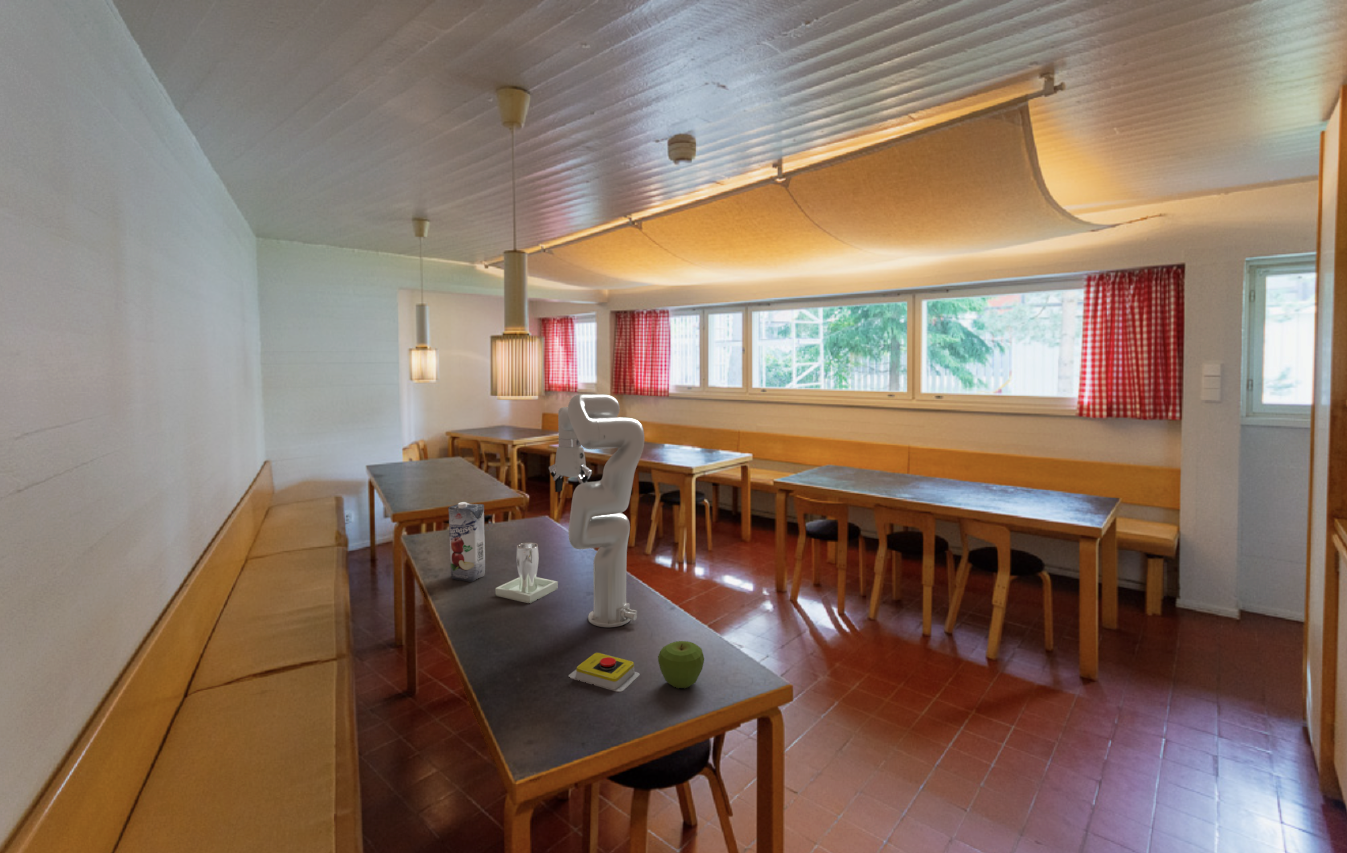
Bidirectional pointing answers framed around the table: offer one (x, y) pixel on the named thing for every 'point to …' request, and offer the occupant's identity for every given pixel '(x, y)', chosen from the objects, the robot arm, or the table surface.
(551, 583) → the sage tray
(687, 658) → the apple
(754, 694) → the table surface
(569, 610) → the table surface
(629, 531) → the robot arm
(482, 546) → the juice carton
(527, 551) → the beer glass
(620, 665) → the emergency button
